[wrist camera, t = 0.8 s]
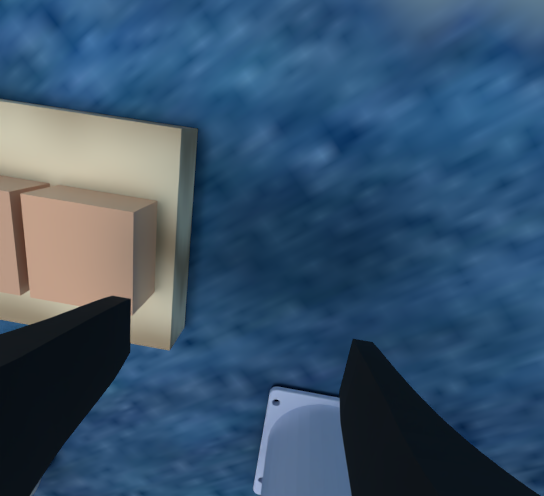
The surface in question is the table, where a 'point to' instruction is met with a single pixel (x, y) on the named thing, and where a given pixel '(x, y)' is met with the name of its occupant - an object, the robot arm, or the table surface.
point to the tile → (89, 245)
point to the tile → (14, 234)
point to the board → (112, 179)
